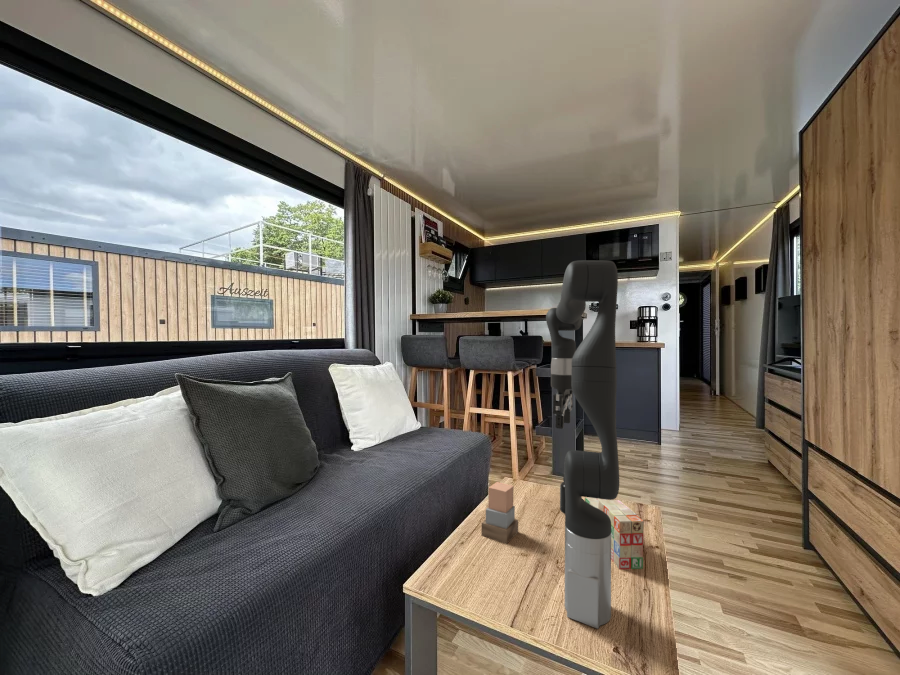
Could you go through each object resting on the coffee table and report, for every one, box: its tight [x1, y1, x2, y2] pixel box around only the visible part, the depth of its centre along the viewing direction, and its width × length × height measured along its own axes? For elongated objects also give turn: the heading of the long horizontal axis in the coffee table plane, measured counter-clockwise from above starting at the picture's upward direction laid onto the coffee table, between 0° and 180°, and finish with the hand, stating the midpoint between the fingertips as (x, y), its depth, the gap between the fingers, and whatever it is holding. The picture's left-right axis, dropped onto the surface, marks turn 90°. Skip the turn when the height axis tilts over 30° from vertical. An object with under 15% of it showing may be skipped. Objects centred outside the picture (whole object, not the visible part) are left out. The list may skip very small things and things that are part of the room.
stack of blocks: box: [584, 497, 645, 570], centre depth 104 cm, size 21×6×12 cm, turn 3°
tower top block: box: [485, 505, 516, 529], centre depth 110 cm, size 6×6×4 cm
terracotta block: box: [487, 481, 514, 513], centre depth 111 cm, size 6×6×6 cm
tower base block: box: [481, 518, 519, 545], centre depth 110 cm, size 8×8×4 cm
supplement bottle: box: [559, 474, 583, 515], centre depth 125 cm, size 7×7×12 cm
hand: (563, 425), depth 115 cm, fingers open, 8 cm apart
